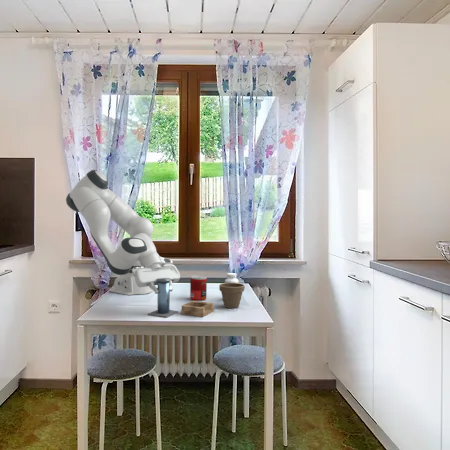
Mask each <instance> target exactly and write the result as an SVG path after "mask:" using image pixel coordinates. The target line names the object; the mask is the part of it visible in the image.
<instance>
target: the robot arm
mask: <svg viewBox="0 0 450 450" xmlns="http://www.w3.org/2000/svg"><path fill="white" fill-rule="evenodd" d="M76 183H77V184H75V186H74V187H73V188H72V190H70V192H69V193H68V194H67V195H66V198H65V202H66V205H67V206H68V208H70V209H71V210H73V211H74V212H75V213H79V214H80V215H82V217H83V218H84V220H85V222H86V223H87V225H88V229H89V233H90V235H91V238H92V240H93V241H94V242H95V245H96V246H97V248H98V249H99V251H100V253H101V254H102V256H103V257H104V259H105V261H106V263H107V267H108V269H109V270H110V271H111V272H112V273H113V274H115V275H119V276H117V277H116V278H115V279H114V283H113V287H110V288H109V289H108V291H109V292H112V293H116V294H121V295H125V296H131V295H145V294H150V293H152V292H154V294H155V295H158V293H159V292H160V290H159V288H158V287H156V286H158V282H157V279H158V278H170V279H171V281H170V293H171V292H173V290H174V289H173V286H172V285H173V283H178V282H179V280H180V279H181V273H180V271H179V269H178V268H177V266H176V265H175V264H173V262H174V261H173V260H172V259H171V258H167V257H162V256H160V255H159V253H158V252H157V247H156V246H155V243H154V242H153V240H152V238H153V232H154V225H153V223H152V222H151V220H150V219H148V218H147V217H142V216H140V215H139V214H138V213H137V212H136V211H135V210H134V209H133V208H132V207H131V206H130V205H129V203H127V202H126V201H125V200H123V198H121V197H120V196H119V195H117V193H115V192H113V190H111V189H109V188H108V187H109V186H108V185H109V182H108V179H107V177H106V176H105V175H104V174H103V173H102V172H100V171H98V170H97V169H92V170H90V171H88V172H87V173H86V175H85V176H83V177H82V178H81V179H80V180H79V181H78V182H76ZM111 220H112V221H113V222H114V223H115V224H116V225H117V226H118V227H120V229H122V230H123V231H124V232H126V233H127V234H128V235H129V237H125V238H124V239H122V240H121V241H120V243H119V245H117V248H116V247H115V246H114V244H113V243H112V241H111V239H110V237H109V226H110V221H111Z"/></svg>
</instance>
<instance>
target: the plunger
mask: <svg viewBox="0 0 450 450" xmlns="http://www.w3.org/2000/svg"><path fill="white" fill-rule="evenodd" d="M170 281H171V279H170V278H158V279H157V282H158V285H157V288H159V290H160V292H159V293H158V294H157V307H156V310H157V312H158V313H168V312H169V311H170V310H171V309H170V299H171V298H170V297H171V295H170V294H171V292H170Z"/></svg>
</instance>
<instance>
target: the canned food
mask: <svg viewBox="0 0 450 450" xmlns="http://www.w3.org/2000/svg"><path fill="white" fill-rule="evenodd" d="M189 280H190V285H189V286H190V287H189V293H190V294H189V298H190V300H191V301H199V302H204V301H206V300H207V288H208V286H207V281H208V279H207V276H206V275H191V276H190V279H189Z"/></svg>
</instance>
